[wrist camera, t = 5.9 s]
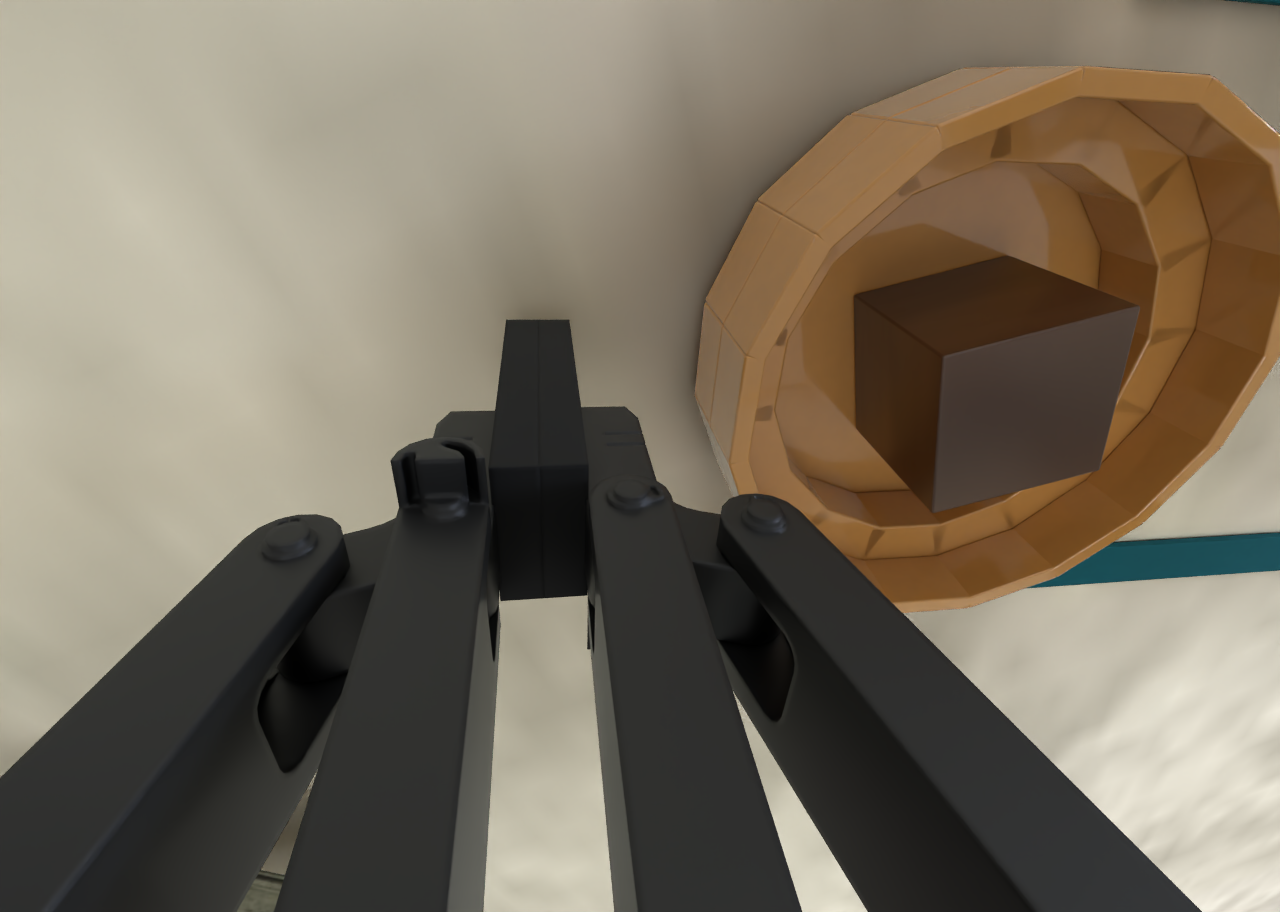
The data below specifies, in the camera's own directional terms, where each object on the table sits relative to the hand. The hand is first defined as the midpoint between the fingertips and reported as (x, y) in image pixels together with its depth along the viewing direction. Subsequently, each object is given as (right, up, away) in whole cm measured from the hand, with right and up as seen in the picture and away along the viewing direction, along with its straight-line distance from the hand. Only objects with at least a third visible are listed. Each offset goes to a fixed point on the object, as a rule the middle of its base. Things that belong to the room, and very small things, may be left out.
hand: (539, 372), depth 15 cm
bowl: (+11, +1, +4) cm, 12 cm away
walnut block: (+11, +1, +3) cm, 11 cm away
